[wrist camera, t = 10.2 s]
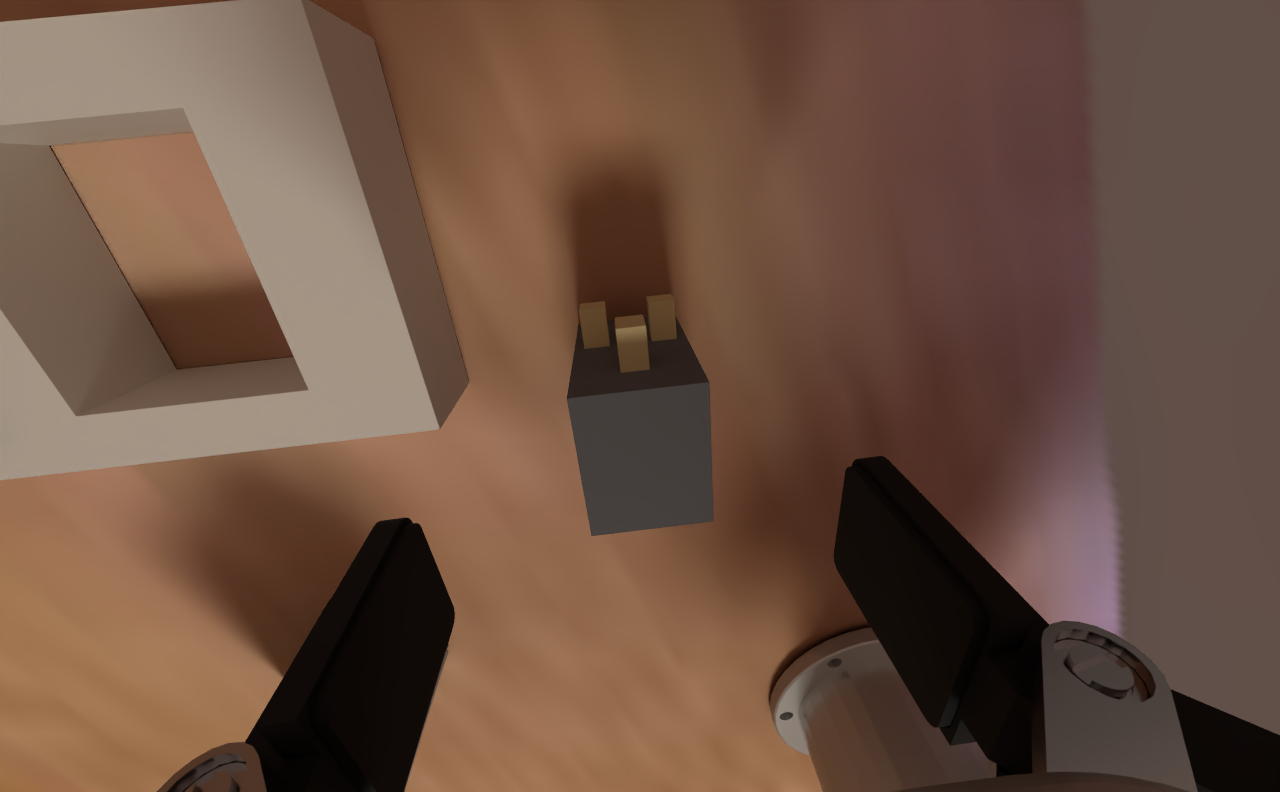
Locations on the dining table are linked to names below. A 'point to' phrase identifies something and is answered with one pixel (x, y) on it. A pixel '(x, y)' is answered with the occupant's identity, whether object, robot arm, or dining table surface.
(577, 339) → the plug
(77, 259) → the socket block
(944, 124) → the dining table surface
